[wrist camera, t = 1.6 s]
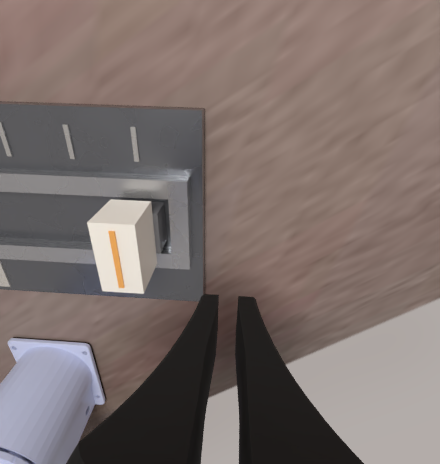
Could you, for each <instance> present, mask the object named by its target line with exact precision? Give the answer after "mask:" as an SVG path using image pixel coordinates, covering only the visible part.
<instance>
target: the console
mask: <svg viewBox="0 0 440 464" xmlns="http://www.w3.org/2000/svg"><path fill="white" fill-rule="evenodd" d="M111 199H114V200H135V201H151V202H164V205H165V218H166V232H167V240H166V243H165V245H164V247H163V250H162V252H161V253H156V256H157V265H156V267H155V269H154V272H153V274H152V276H151V279H150V281H149V283H148V285H147V288H146V290H145V292H144V294H139V293H123V292H106V291H102V288H101V283H100V279H99V274H98V270H97V265H96V261H95V256H94V252H93V247H92V243H91V238H90V234H89V229H88V225H87V222H88V221H89V220H90V219H91V218H92V217H93V216H94V215H95V214H96V213H97V212H98V211H99V210H100V209H101V208H102V207H103V206H104V205H105V204H106V203H108V202H109V201H110V200H111ZM0 289H6V290H22V291H38V292H54V293H71V294H87V295H103V296H119V297H135V298H151V299H167V300H184V301H200V298H201V296H202V295H204V293H205V132H204V108H182V107H152V106H122V105H92V104H62V103H32V102H2V101H0Z"/></svg>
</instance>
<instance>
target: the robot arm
mask: <svg viewBox="0 0 440 464" xmlns="http://www.w3.org/2000/svg"><path fill="white" fill-rule="evenodd" d="M218 296H219V295H208V294H204V295H202V296H201V298H200V301H199V303H198V306H197V308H196V310H195V312H194V314H193V315H192V317H191V319H190V321H189V322H188V324H187V326H186V327H185V329H184V331H183V332H182V334H181V335H180V337H179V338H178V340H177V341H176V343H175V344H174V346H173V347H172V348H171V350H170V351H169V353H168V354H167V355H166V357H165V358H164V359H163V360H162V362H161V363H160V364H159V365H158V367H157V368H156V369H155V370H154V371H153V372H152V374H151V375H150V376H149V377H148V378H147V379H146V380H145V381H144V383H143V384H142V385H141V386H140V387H139V388H138V389H137V390H136V391H135V392H134V393H133V394H132V395H131V396H130V397H129V398H128V399H127V400H126V401H125V402H124V403H123V404H122V405H121V406H120V407H119V408H118V409H117V410H116V411H115V412H114V413H112V414H111V415H110V416H109V417H108V418H107V419H106V420H105V421H103V422H102V423H101V424H100V425H99V426H98V427H96V428H95V429H94V430H93V431H92V432H90V433H89V434H88V435H87V436H86V437H85V438H83V439H82V440H81V441H80V442H79V440H80V438H81V435H82V433H83V431H84V429H85V426H86V424H87V422H88V420H89V417H90V415H91V413H92V410H93V408H94V406H95V404H98V405H102V404H104V403H105V396H104V393H103V389H102V386H101V382H100V378H99V375H98V371H97V368H96V364H95V361H94V357H93V354H92V350H91V347H90V345H89V344H87V343H78V342H64V341H50V340H35V339H21V338H11V339H10V340H9V341H8V345H9V347H10V349H11V351H12V354H13V356H14V358H15V360H16V362H17V363H16V364H15V366H14V367H13V368H12V370H11V371H10V372H9V373H8V375H7V376H6V377H5V379H4V380H3V381H2V382H1V384H0V464H201V451H202V442H203V431H204V430H203V429H204V420H205V413H206V406H207V401H208V395H209V389H210V384H211V378H212V372H213V367H214V361H215V355H216V344H217V331H218ZM235 358H236V373H237V387H238V402H239V423H240V425H239V426H240V429H239V464H364V463H363V462H362V461H361V460H360V459H359V458H358V457H357V456H356V455H355V454H354V453H353V452H352V451H351V449H350V448H349V447H348V446H347V445H346V444H345V443H344V442H343V441H342V439H340V437H339V436H338V435H337V434H336V433H335V431H334V430H333V429H332V428H331V427H330V426H329V424H328V423H327V422H326V421H325V420H324V418H323V417H322V416H321V415H320V413H319V412H318V411H317V409H316V408H315V407H314V406H313V404H312V403H311V402H310V401H309V399H308V398H307V396H306V395H305V394H304V392H303V391H302V389H301V388H300V387H299V385H298V384H297V383H296V381H295V379H294V378H293V376H292V375H291V373H290V372H289V370H288V369H287V367H286V365H285V363H284V362H283V360H282V358H281V356H280V355H279V353H278V351H277V349H276V347H275V346H274V344H273V342H272V340H271V338H270V335H269V333H268V331H267V329H266V327H265V325H264V322H263V320H262V317H261V315H260V312H259V309H258V306H257V303H256V299H255V298H254V297H241V296H239V297H238V311H237V325H236V349H235ZM78 442H79V443H78Z"/></svg>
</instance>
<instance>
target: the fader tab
mask: <svg viewBox="0 0 440 464" xmlns="http://www.w3.org/2000/svg"><path fill="white" fill-rule="evenodd" d="M87 225H88V229H89V234H90V238H91V243H92V247H93V252H94V256H95V261H96V265H97V270H98V274H99V279H100V283H101V288H102V291H106V292H123V293H139V294H144V292H145V290H146V288H147V285H148V283H149V281H150V279H151V276H152V274H153V272H154V269H155V267H156V265H157V256H156V253H161V252H162V250H163V247H164V245H165V243H166V240H167V232H166V218H165V205H164V202H151V201H135V200H114V199H111V200H110V201H109V202H108V203H106V204H105V205H104V206H103V207H102V208H101V209H100V210H99V211H98V212H97V213H96V214H95V215H94V216H93V217H92V218H91V219H90V220H89V221H88V222H87Z"/></svg>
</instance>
